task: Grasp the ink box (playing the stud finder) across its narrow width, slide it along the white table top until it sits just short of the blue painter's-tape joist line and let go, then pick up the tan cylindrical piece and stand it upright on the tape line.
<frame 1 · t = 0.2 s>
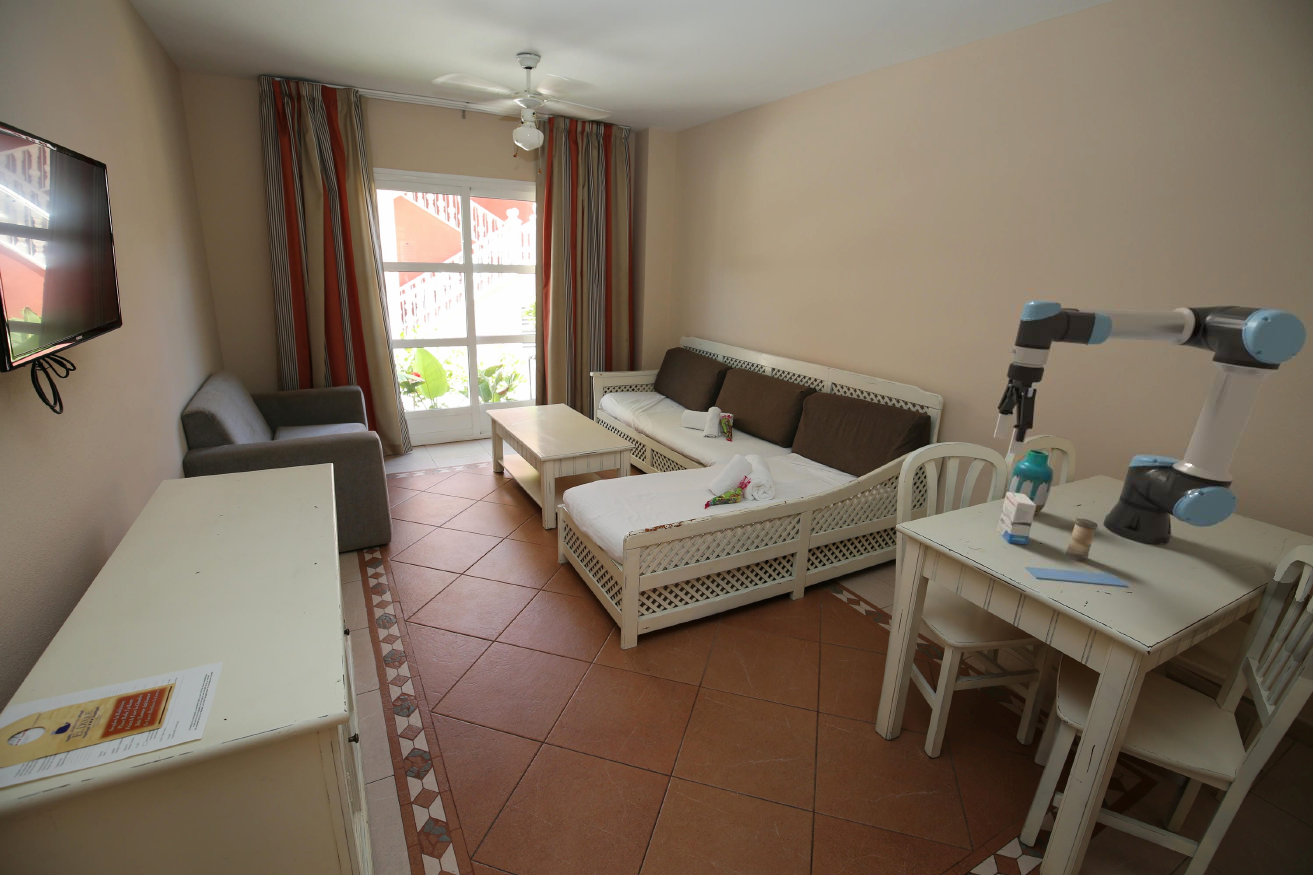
hand: (1006, 445, 151), 27 cm above the table, fingers open, 13 cm apart
tape line: (1075, 576, 141), on the table
ink box: (1010, 537, 160), on the table
vase: (1022, 511, 178), on the table
tan cylindrical piece: (1076, 557, 151), on the table
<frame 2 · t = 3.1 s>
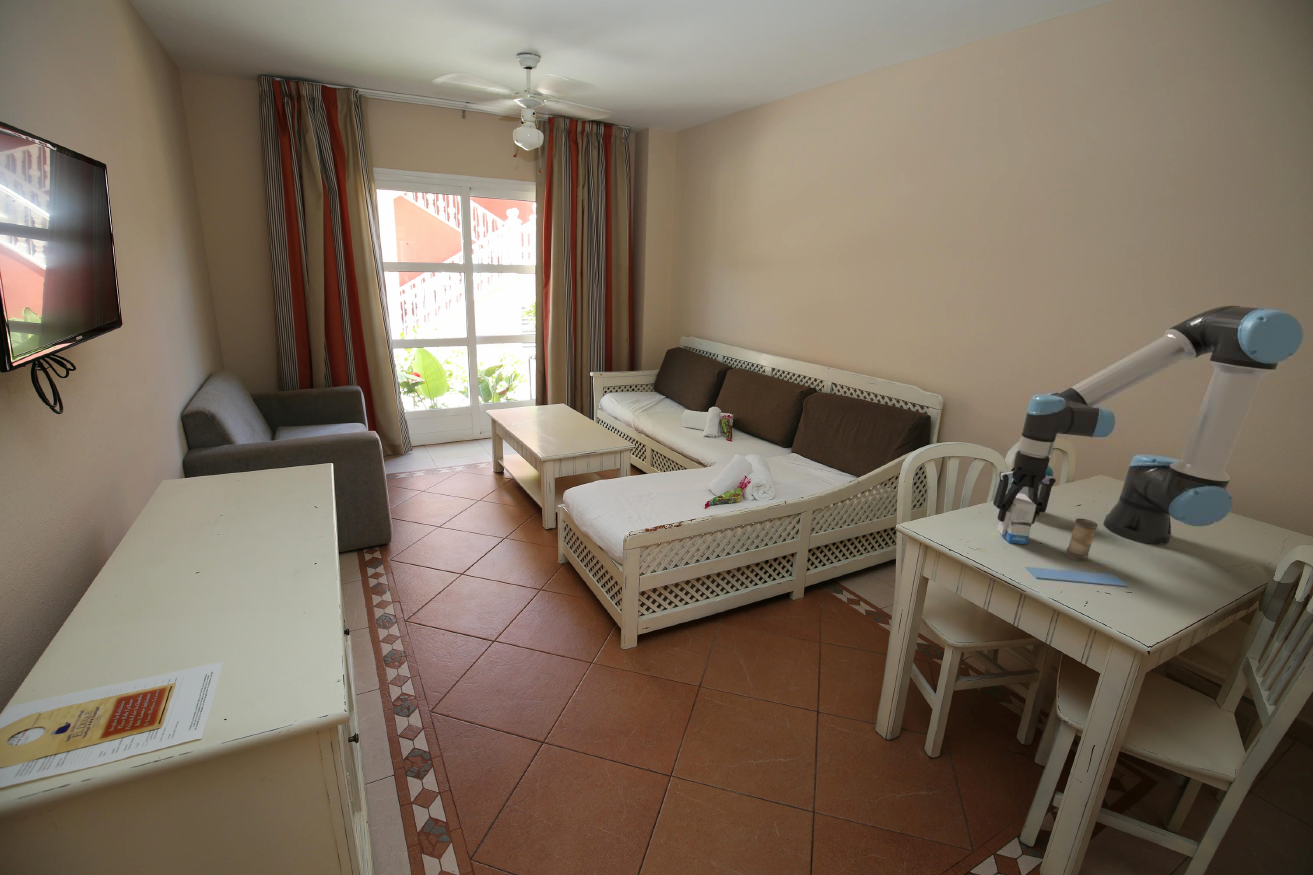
hand: (1012, 532, 160), 1 cm above the table, fingers closed on ink box, 5 cm apart
ink box: (1010, 537, 160), on the table, touching gripper
everything else where it was.
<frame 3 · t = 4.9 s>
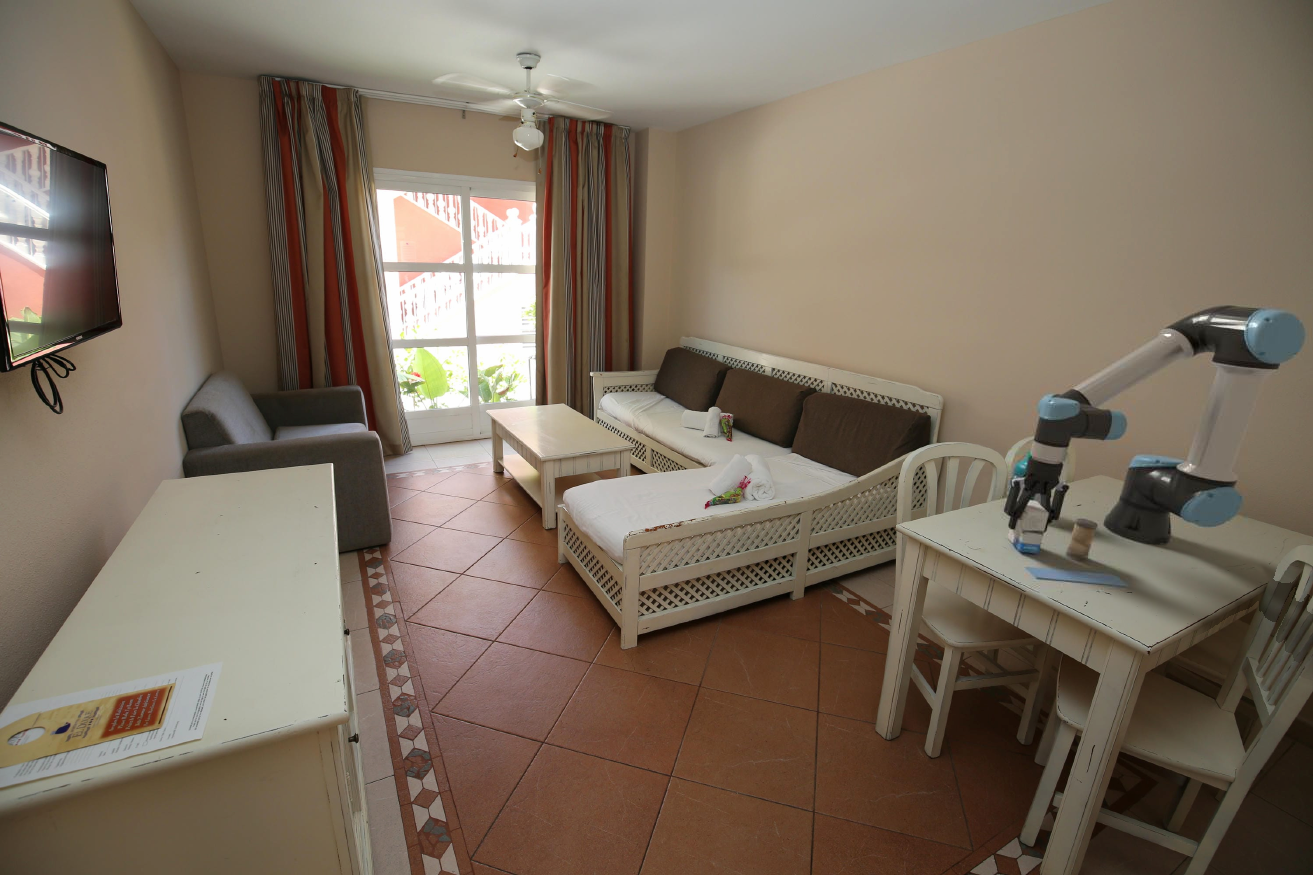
hand: (1023, 541, 154), 2 cm above the table, fingers closed on ink box, 5 cm apart
ink box: (1022, 546, 154), on the table, touching gripper
everything else where it was.
when the fingers open (2 cm above the table, at t = 6.9 s): ink box stays where it is, on the table.
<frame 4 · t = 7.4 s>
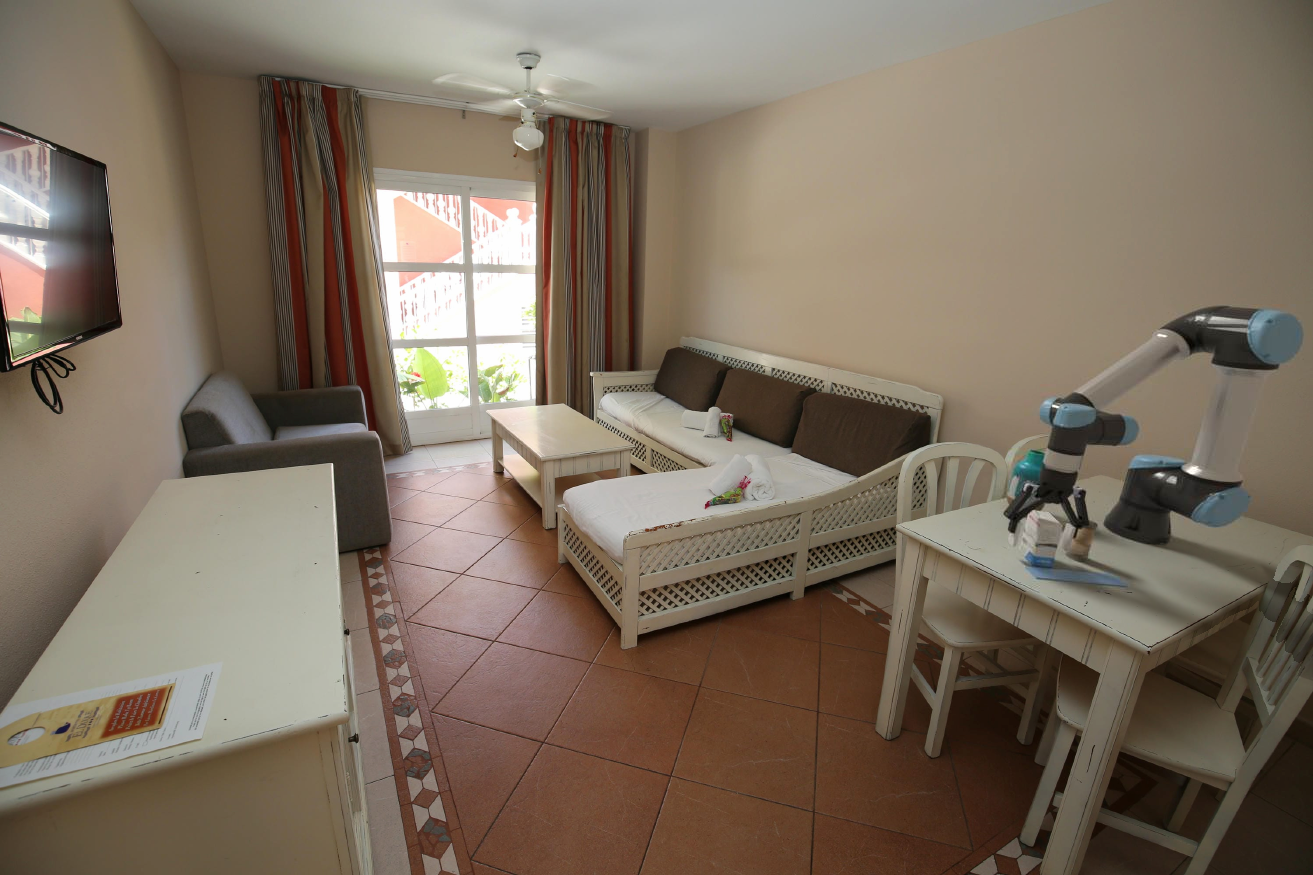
hand: (1037, 546, 148), 3 cm above the table, fingers open, 12 cm apart
ink box: (1034, 559, 149), on the table
everything else where it was.
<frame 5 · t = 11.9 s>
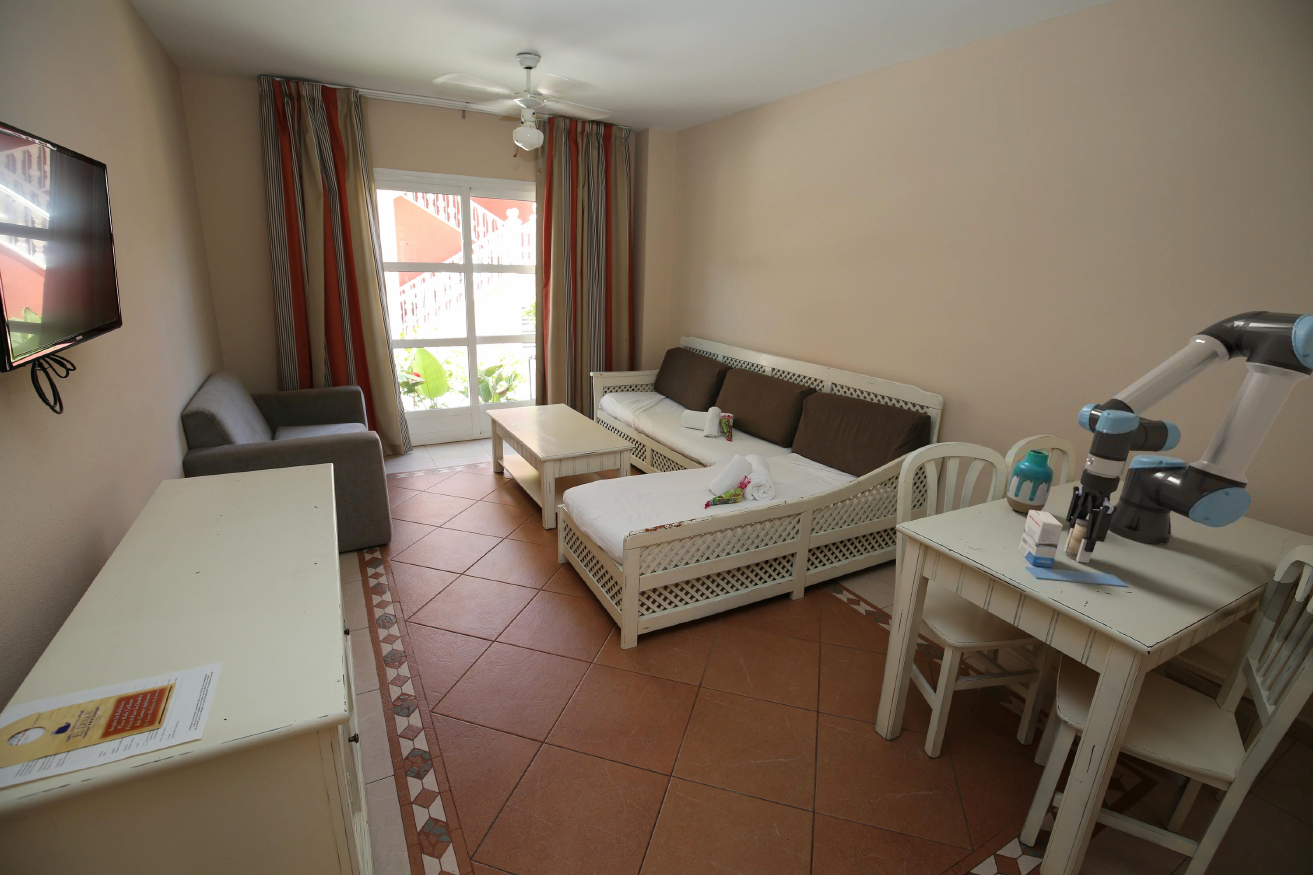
hand: (1076, 556, 151), 0 cm above the table, fingers closed on tan cylindrical piece, 5 cm apart
tan cylindrical piece: (1076, 557, 151), on the table, touching gripper
everything else where it was.
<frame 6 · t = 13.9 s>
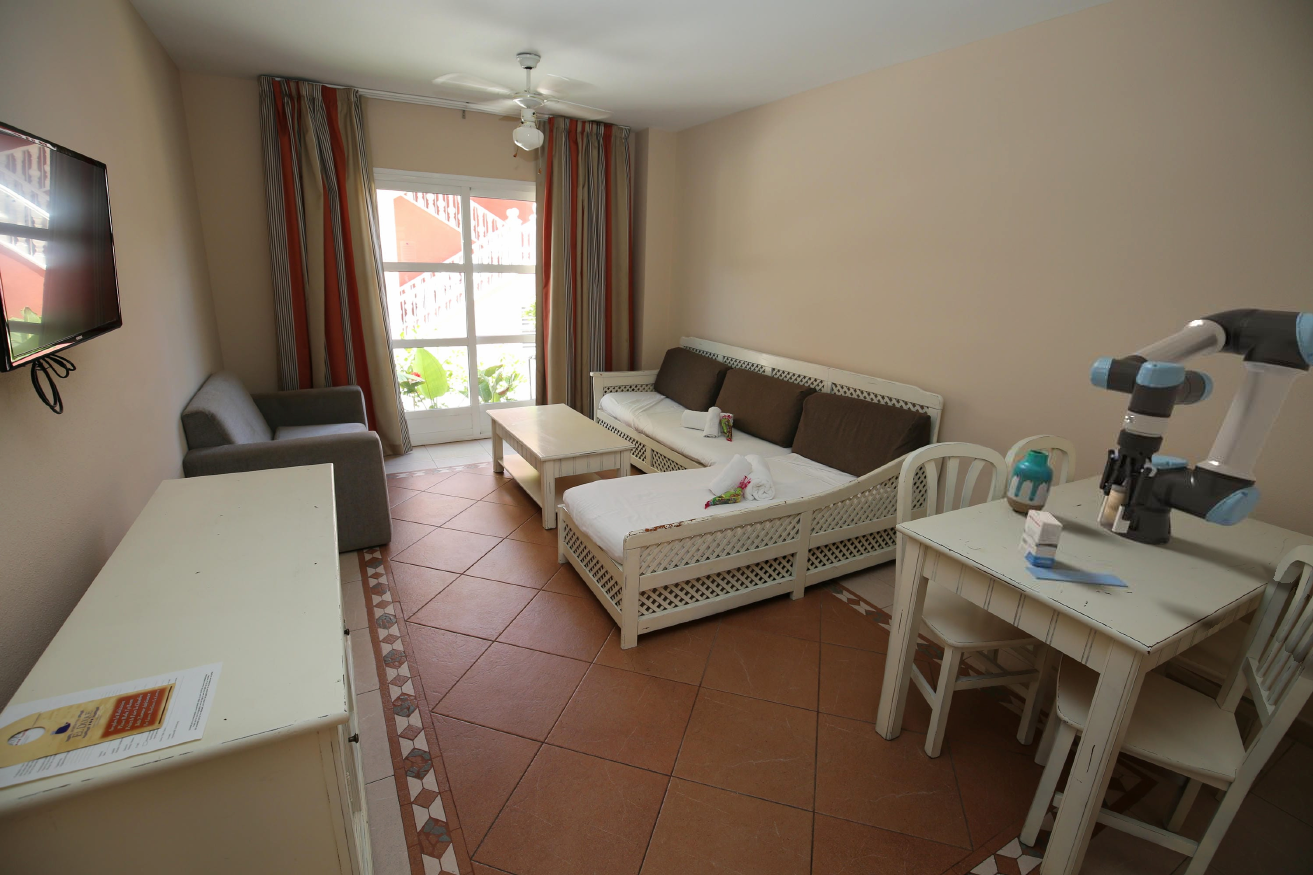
hand: (1111, 526, 136), 14 cm above the table, fingers closed on tan cylindrical piece, 5 cm apart
tan cylindrical piece: (1111, 527, 136), point 14 cm above the table, touching gripper
everything else where it was.
when the fingers open (2 cm above the table, at t = 16.3 s): tan cylindrical piece drops 1 cm, resting on tape line.
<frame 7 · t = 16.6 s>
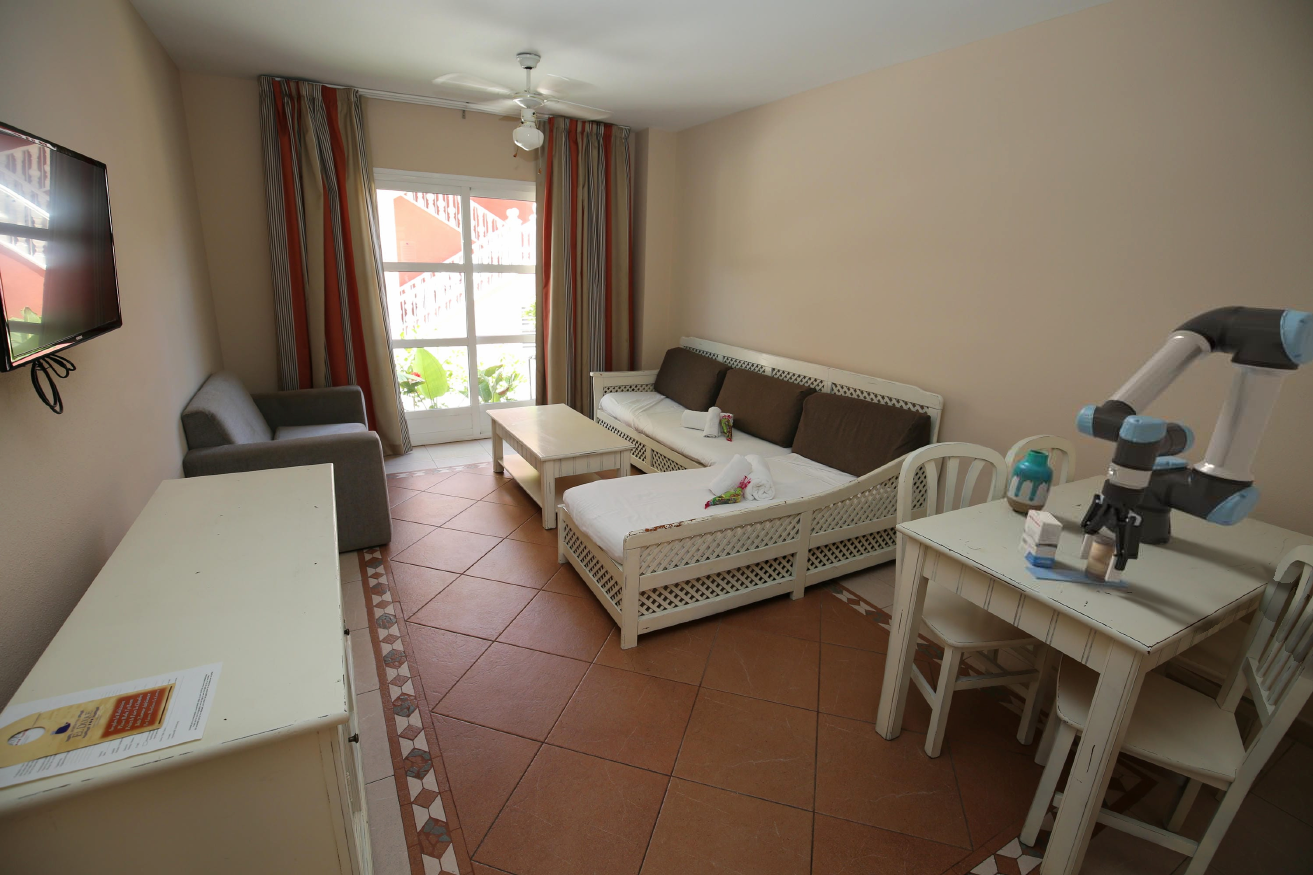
hand: (1097, 569, 140), 3 cm above the table, fingers open, 9 cm apart
tan cylindrical piece: (1095, 577, 140), resting on tape line
everything else where it was.
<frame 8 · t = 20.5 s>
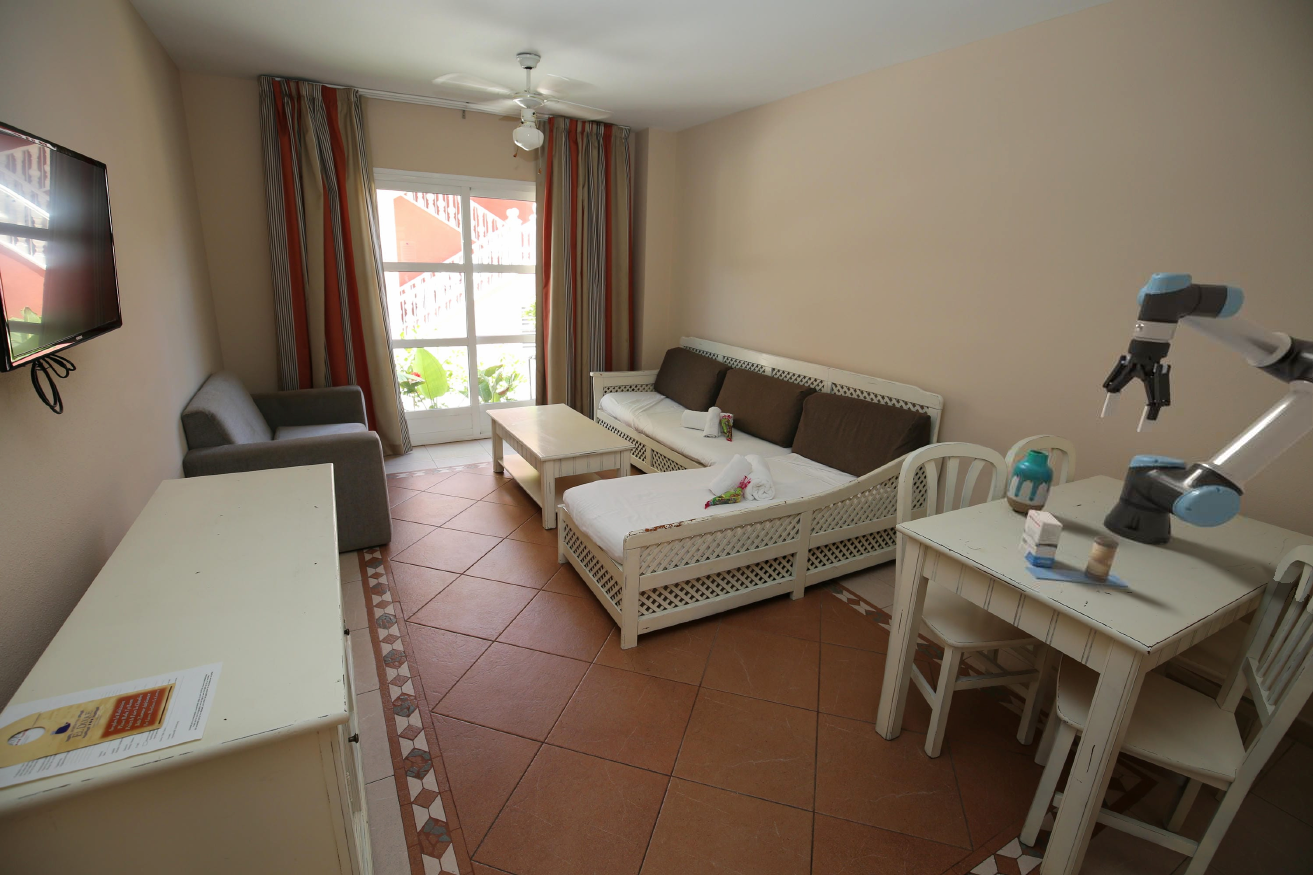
hand: (1124, 424, 146), 35 cm above the table, fingers open, 13 cm apart
nothing on the table moved.
at the end: ink box inside the target area (0.1 cm from its centre), on the table; tan cylindrical piece inside the target area (0.1 cm from its centre), resting on tape line; tan cylindrical piece tilted 1° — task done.
